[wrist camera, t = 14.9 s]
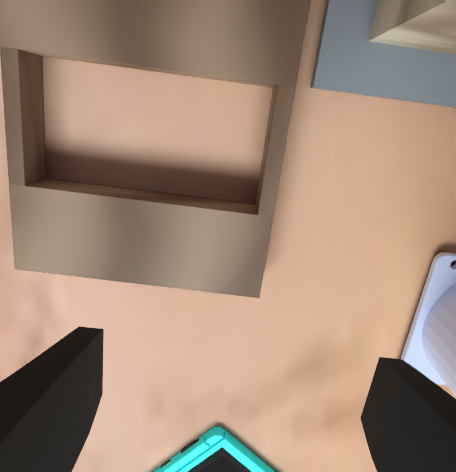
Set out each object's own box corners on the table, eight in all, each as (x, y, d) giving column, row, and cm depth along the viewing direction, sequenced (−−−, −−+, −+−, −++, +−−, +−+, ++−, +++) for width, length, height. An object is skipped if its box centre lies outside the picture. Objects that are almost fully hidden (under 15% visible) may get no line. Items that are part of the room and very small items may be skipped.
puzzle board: (349, -277, 13) (369, -343, 11) (256, 280, 20) (259, 297, 18) (8, -334, 13) (-31, -411, 11) (35, 254, 20) (14, 269, 18)
